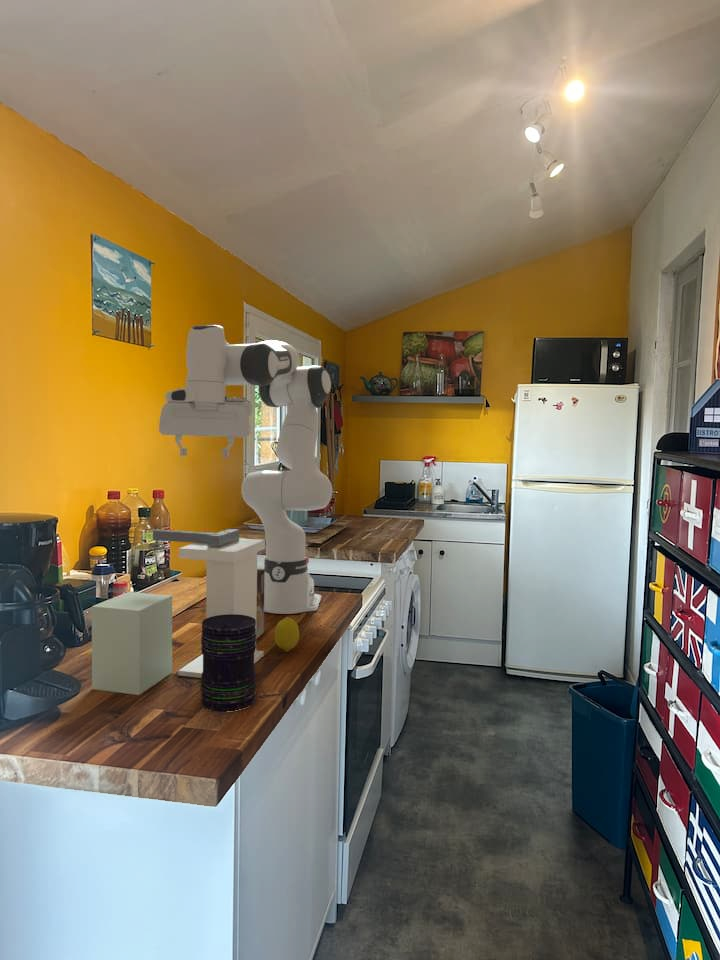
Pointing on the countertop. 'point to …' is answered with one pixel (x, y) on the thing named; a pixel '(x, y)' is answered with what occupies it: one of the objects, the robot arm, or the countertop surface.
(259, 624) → the coffee box
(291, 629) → the lemon
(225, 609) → the shelf
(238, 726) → the countertop surface
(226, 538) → the t key
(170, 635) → the block
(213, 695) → the storage jar
